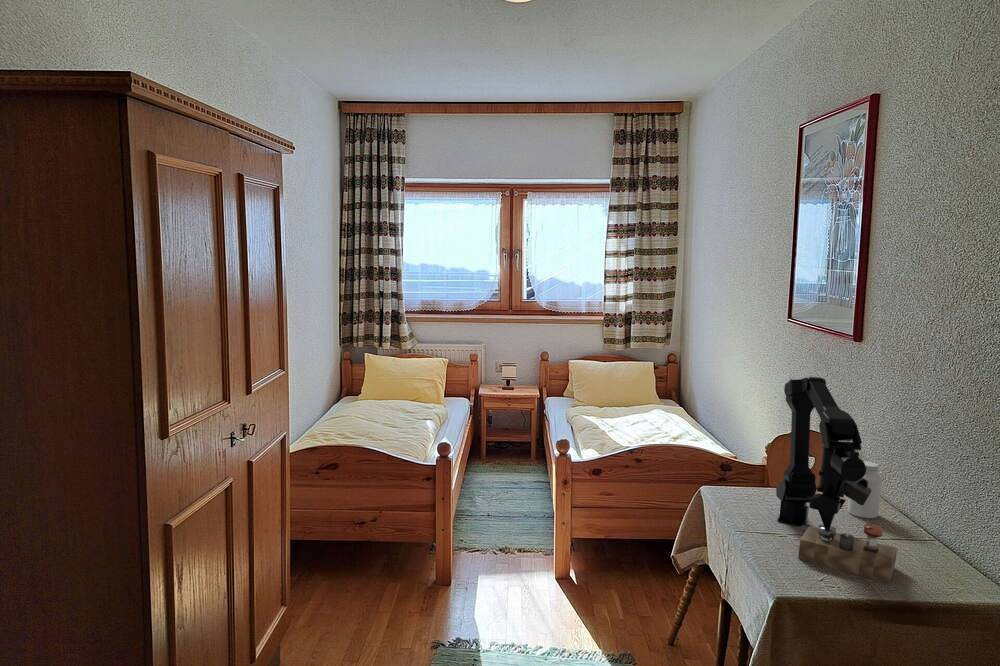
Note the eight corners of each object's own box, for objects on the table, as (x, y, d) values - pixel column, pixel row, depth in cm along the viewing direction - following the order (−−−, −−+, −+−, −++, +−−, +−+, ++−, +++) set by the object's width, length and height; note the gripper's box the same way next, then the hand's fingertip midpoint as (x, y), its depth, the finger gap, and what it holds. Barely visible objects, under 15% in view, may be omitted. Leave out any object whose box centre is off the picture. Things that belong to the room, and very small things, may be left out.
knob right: (859, 555, 175) (863, 527, 174) (862, 550, 179) (865, 522, 178) (878, 560, 173) (881, 532, 172) (880, 554, 176) (884, 526, 175)
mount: (798, 558, 181) (800, 539, 180) (807, 544, 189) (809, 526, 188) (889, 583, 170) (891, 563, 169) (894, 567, 178) (897, 548, 177)
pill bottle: (868, 508, 216) (874, 459, 213) (883, 519, 208) (889, 468, 205) (842, 508, 215) (847, 458, 213) (856, 519, 207) (862, 467, 205)
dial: (838, 548, 176) (839, 535, 175) (840, 544, 178) (841, 531, 178) (851, 551, 174) (853, 538, 174) (853, 547, 176) (855, 534, 176)
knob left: (813, 555, 181) (816, 528, 180) (817, 550, 185) (820, 523, 184) (831, 560, 179) (834, 533, 178) (834, 554, 182) (837, 527, 181)
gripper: (864, 485, 166) (856, 550, 169) (876, 464, 182) (869, 524, 184) (812, 474, 173) (805, 537, 175) (828, 455, 188) (821, 513, 190)
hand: (827, 528), depth 181 cm, fingers closed, pressing on knob left
